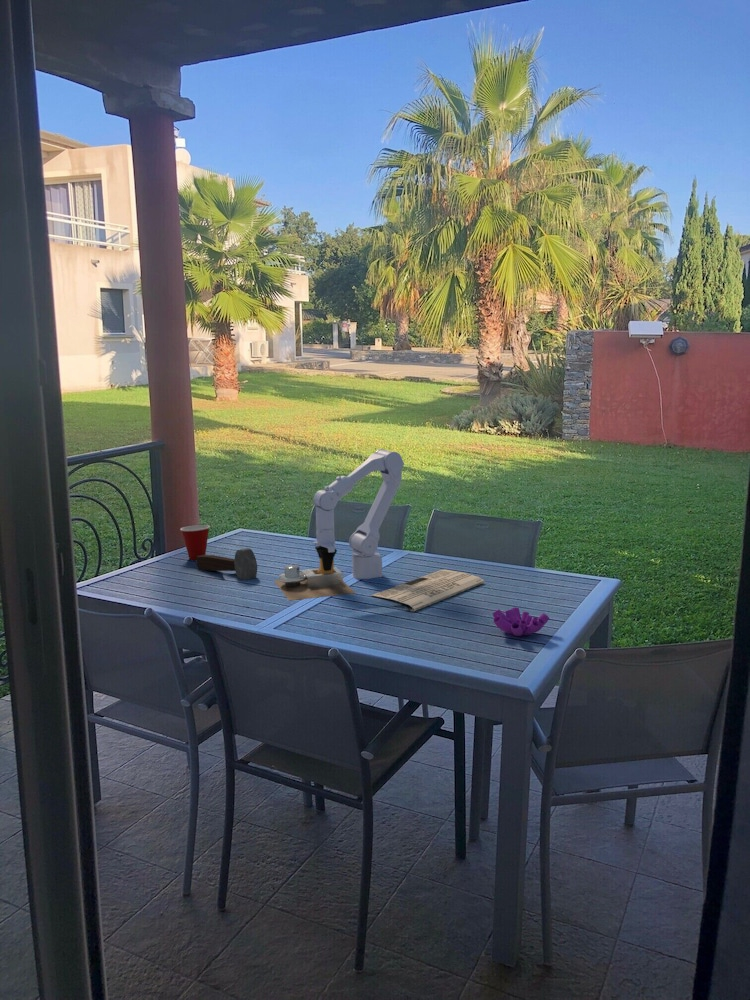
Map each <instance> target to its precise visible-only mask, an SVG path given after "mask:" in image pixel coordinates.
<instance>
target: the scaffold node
mask: <svg viewBox="0 0 750 1000" xmlns="http://www.w3.org/2000/svg"><path fill="white" fill-rule="evenodd" d="M300 568H301V567H300V565H298V564H290V565H285V566H284V569H283V570H284V573H281V574H280V575H278V580H279V581H280V582H284V583H285V586H286V587H298V586H300V582H302V581H303V582H304V584H305V585H306V586H307V587H316V586H325V585H335V584H343V581H344V578H343V572H342V571H341V570H340V569H339V568H338V567H336V566H334V570H333V573H325V574H319V568H312V569H311V568H310V569H309V568H307V569H300ZM300 570H301V571H300Z"/></svg>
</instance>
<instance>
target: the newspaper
mask: <svg viewBox="0 0 750 1000" xmlns="http://www.w3.org/2000/svg"><path fill="white" fill-rule="evenodd" d="M484 583H485V580H484V579H482V578H481V577H480V576H477V575H473V574H470V573H467V572H463V571H455V570H450V569H440V570H437V571H435V572H432V573H429V574H426V575H422V576H420V577H418V578H415V579H413V580H410V581H407V582H405V583H401V584H398V585H395V586H393V587H390V588H387V589H385V590H382V591H379V592H376V593H374V594H371V595H369V597H370V596H371V597H377V598H383V599H386V600H390V601H391V600H392V601H395V602H399V603H401V604H405V605H408V606H410V607H411V608H409V610H408V611H410V612H415V611H418V610H420V609H424V608H426V607H428V606H431V605H433V604H435V603H439V602H440V601H443V600H445V599H448V598H450V597H453V596H456V595H457V594H461V593H462V592H465V591H468V590H470V589H473V588H475V587H478V586H480V585H482V584H484Z"/></svg>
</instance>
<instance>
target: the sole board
mask: <svg viewBox="0 0 750 1000" xmlns="http://www.w3.org/2000/svg"><path fill="white" fill-rule="evenodd" d="M274 582H275V584H276V586H277V587H278V588H279V589H280V591H281V593H283V595H284V596H285V597H286V598H287V600H288V601H289V602H290V601H298V600H307V599H316V598H325V597H335V596H342V595H351V594H356V591H354V590H353V588H351V587H350V586H349V585H348V584H347V583H346V582H345V581H344V580H343V584H335V585H325V586H316V587H307V586H306V585H305V584H304V582H303V581H302V582H300V586H298V587H286V586H285V583H284V582H280V581H279V579H278V580H274Z"/></svg>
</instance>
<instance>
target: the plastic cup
mask: <svg viewBox="0 0 750 1000" xmlns="http://www.w3.org/2000/svg"><path fill="white" fill-rule="evenodd" d="M210 527H211V526H210V525H208V524H196V525H188V526H183V527H180V529H179V530H180V531H181V534H182V536H183V540H184V543H185V544H184V545H185V548H186V551H187V555H188V559H189V560H191V561H196V556H201V555H207V552H206V551H207V546H208V536H209V531H210Z"/></svg>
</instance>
